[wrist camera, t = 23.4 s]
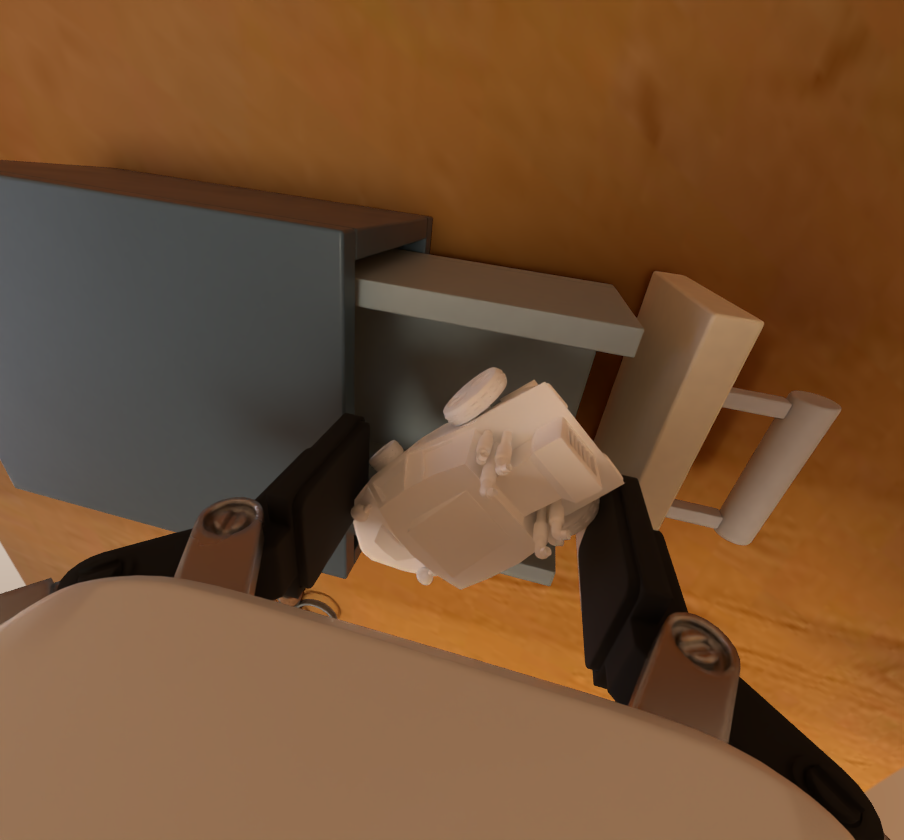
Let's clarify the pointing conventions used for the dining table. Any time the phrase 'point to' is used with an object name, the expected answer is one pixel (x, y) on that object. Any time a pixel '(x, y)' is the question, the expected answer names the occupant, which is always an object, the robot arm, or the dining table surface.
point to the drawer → (578, 374)
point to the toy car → (483, 486)
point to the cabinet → (174, 335)
